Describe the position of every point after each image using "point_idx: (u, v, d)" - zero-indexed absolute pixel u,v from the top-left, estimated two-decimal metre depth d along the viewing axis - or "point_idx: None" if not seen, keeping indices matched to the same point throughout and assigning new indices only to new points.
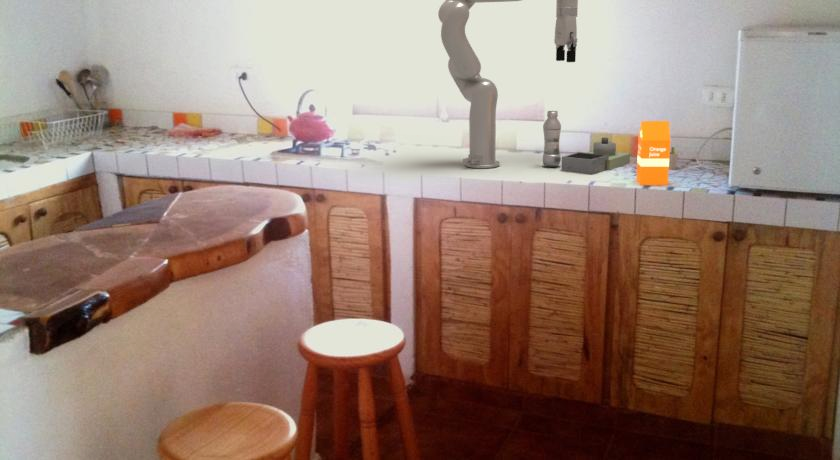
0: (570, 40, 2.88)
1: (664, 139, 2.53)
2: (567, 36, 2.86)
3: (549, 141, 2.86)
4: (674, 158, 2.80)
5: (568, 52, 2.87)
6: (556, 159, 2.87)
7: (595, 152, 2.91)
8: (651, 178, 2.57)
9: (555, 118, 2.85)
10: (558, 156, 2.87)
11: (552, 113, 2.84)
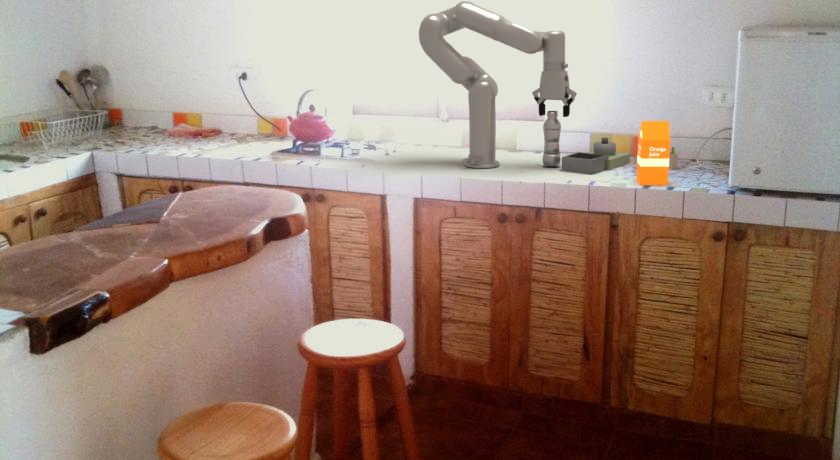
0: None
1: (664, 139, 2.53)
2: None
3: (549, 141, 2.86)
4: (674, 158, 2.80)
5: None
6: (556, 159, 2.87)
7: (595, 152, 2.91)
8: (651, 178, 2.57)
9: (555, 118, 2.85)
10: (558, 156, 2.87)
11: (552, 113, 2.84)
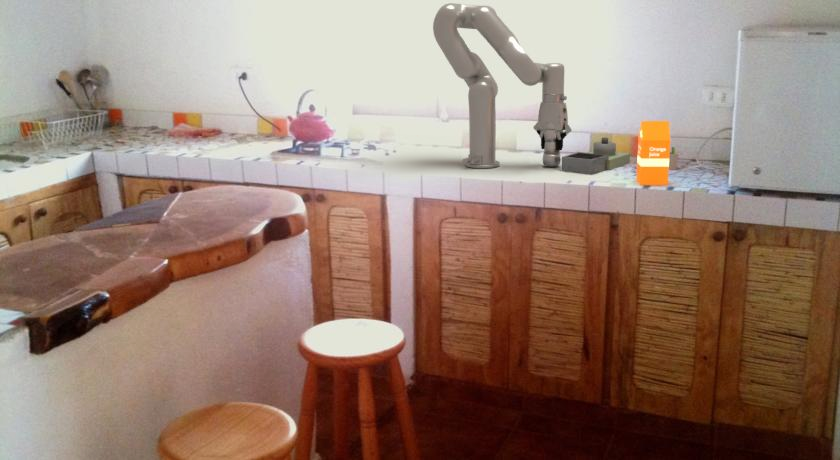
0: None
1: (664, 139, 2.53)
2: None
3: (549, 141, 2.86)
4: (674, 158, 2.80)
5: None
6: (556, 159, 2.87)
7: (595, 152, 2.91)
8: (651, 178, 2.57)
9: None
10: (558, 156, 2.87)
11: None
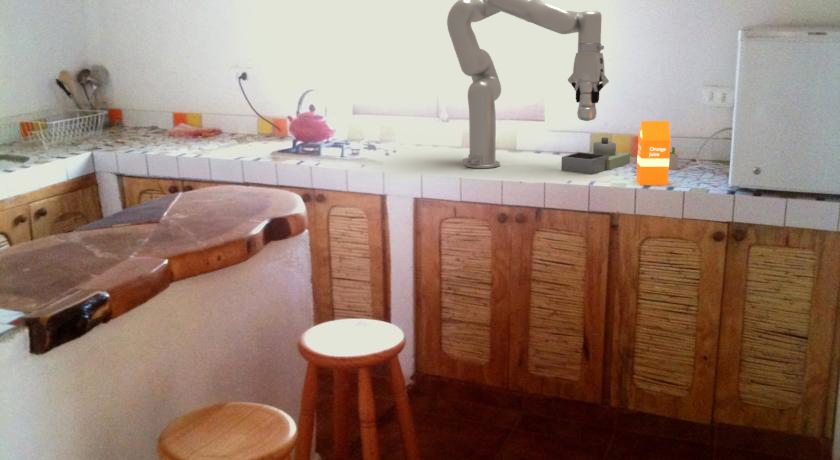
0: None
1: (664, 139, 2.53)
2: None
3: (585, 93, 2.74)
4: (675, 158, 2.79)
5: None
6: (592, 112, 2.75)
7: (595, 152, 2.91)
8: (651, 178, 2.57)
9: None
10: (594, 109, 2.75)
11: None
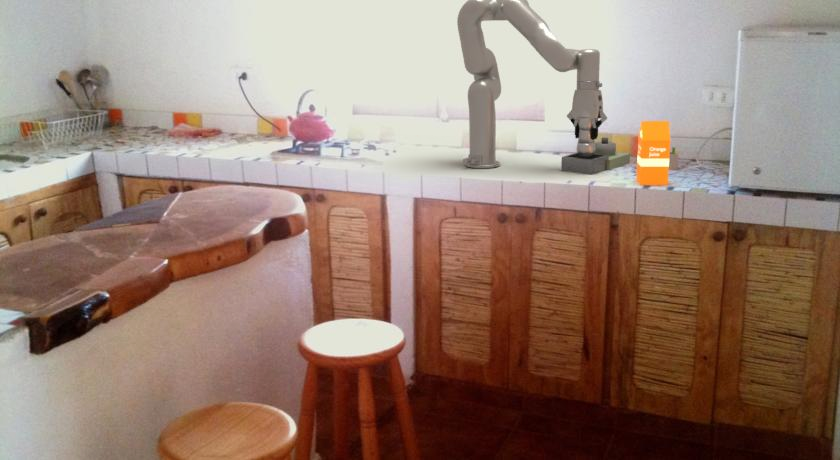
0: None
1: (664, 139, 2.53)
2: None
3: (584, 130, 2.77)
4: (675, 158, 2.79)
5: None
6: (591, 148, 2.78)
7: (595, 152, 2.91)
8: (651, 178, 2.57)
9: None
10: (593, 145, 2.79)
11: None
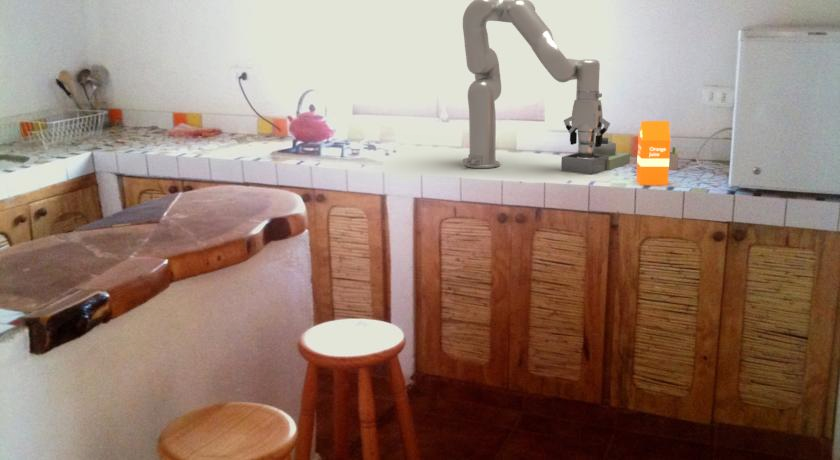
0: None
1: (664, 139, 2.53)
2: None
3: (584, 144, 2.78)
4: (675, 158, 2.79)
5: None
6: None
7: (595, 152, 2.91)
8: (651, 178, 2.57)
9: None
10: None
11: None
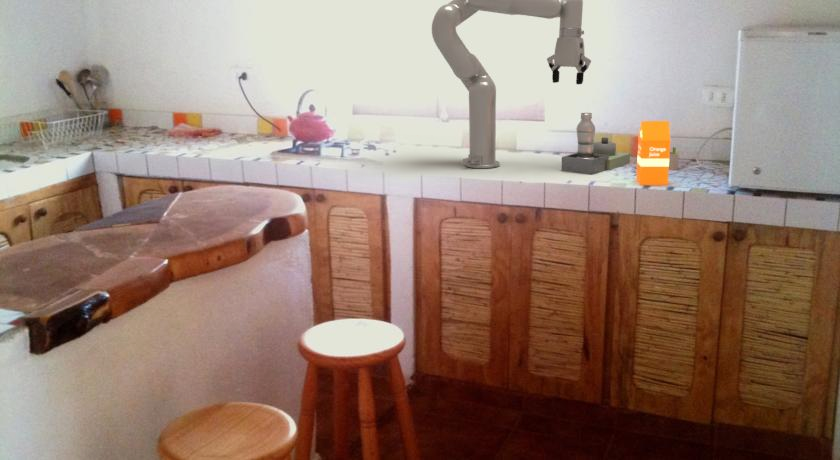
0: None
1: (664, 139, 2.53)
2: None
3: (583, 144, 2.78)
4: (675, 158, 2.79)
5: None
6: None
7: (595, 152, 2.91)
8: (651, 178, 2.57)
9: (589, 120, 2.77)
10: None
11: (586, 115, 2.76)
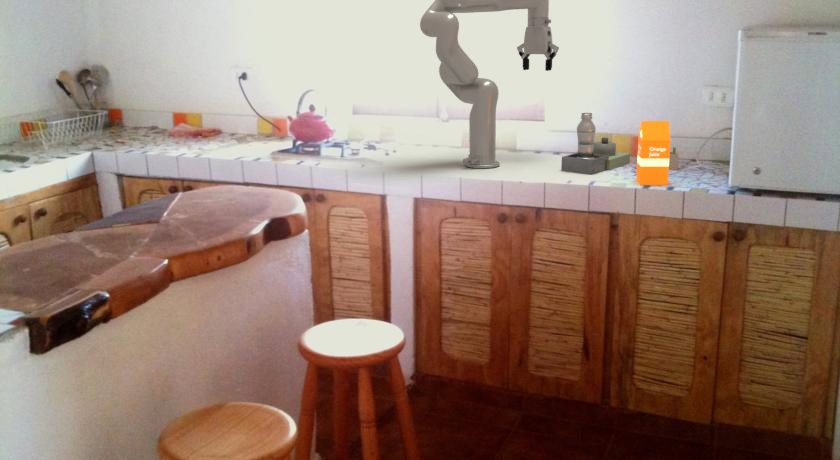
0: None
1: (664, 139, 2.53)
2: None
3: (584, 144, 2.78)
4: (675, 158, 2.79)
5: None
6: None
7: (595, 152, 2.91)
8: (651, 178, 2.57)
9: (590, 120, 2.77)
10: None
11: (587, 115, 2.76)
